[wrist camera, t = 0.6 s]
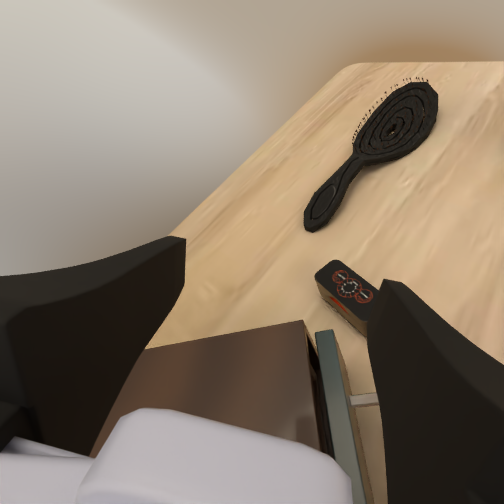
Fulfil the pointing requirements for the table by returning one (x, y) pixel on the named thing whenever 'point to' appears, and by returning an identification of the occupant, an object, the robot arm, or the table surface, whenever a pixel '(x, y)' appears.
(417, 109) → the hairbrush
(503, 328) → the table surface
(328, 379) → the drawer
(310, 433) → the cabinet
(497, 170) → the table surface
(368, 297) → the wireless earbuds
